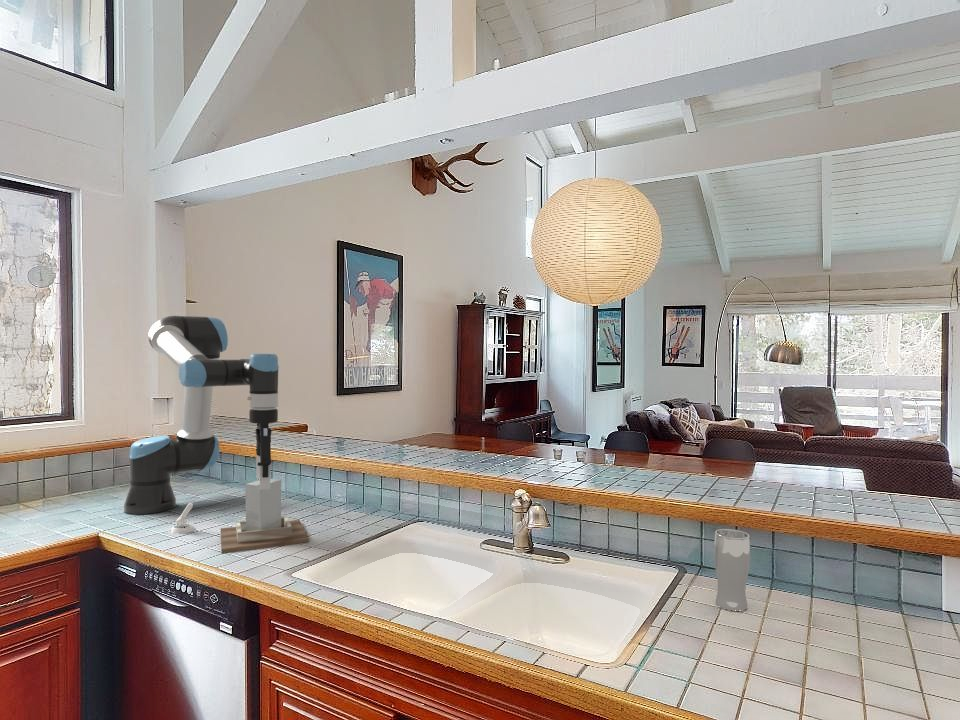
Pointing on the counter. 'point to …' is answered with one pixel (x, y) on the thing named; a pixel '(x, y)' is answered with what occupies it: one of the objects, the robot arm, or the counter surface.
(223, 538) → the holder board
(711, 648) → the counter surface
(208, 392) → the robot arm
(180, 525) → the hook
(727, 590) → the beer glass
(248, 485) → the skincare box
